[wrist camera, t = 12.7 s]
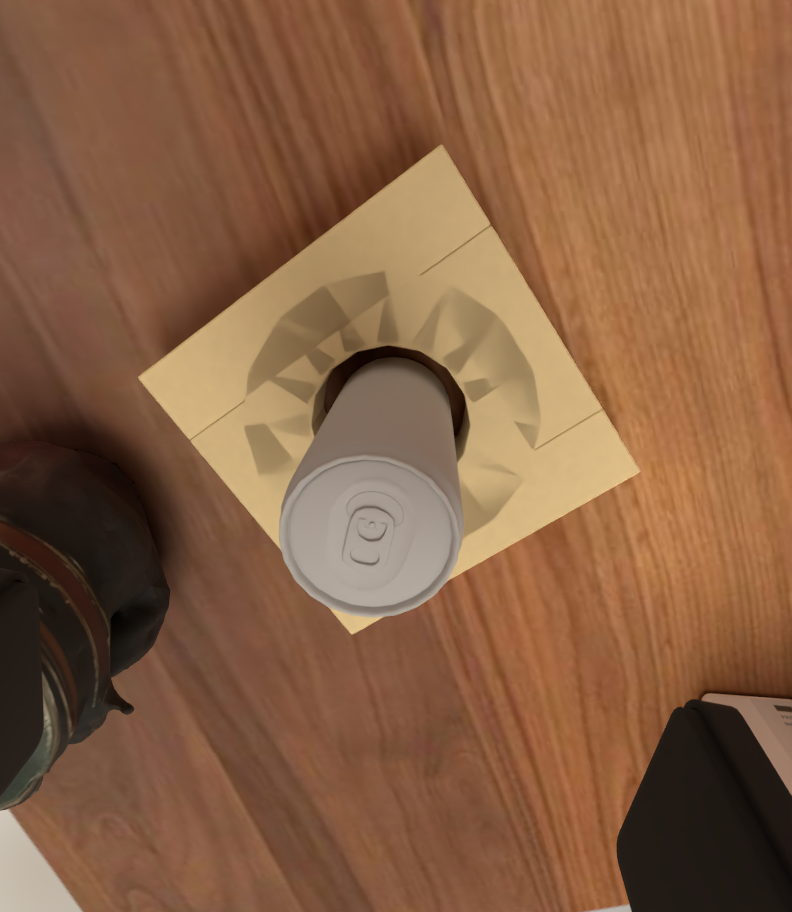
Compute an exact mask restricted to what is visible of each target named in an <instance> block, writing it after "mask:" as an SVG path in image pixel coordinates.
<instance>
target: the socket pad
mask: <svg viewBox="0 0 792 912" xmlns="http://www.w3.org/2000/svg"><path fill="white" fill-rule="evenodd" d="M489 225H490V222H489V220H488V218H487V217H486V215H485V213H484V212H483V210H482V208H481V207H480V205H479V203H478V202H477V200H476V199H475V197H474V195H473V194H472V192H471V190H470V189H469V187H468V185H467V184H466V182H465V180H464V179H463V177H462V175H461V174H460V172H459V171H458V169H457V167H456V166H455V164H454V162H453V161H452V159H451V157H450V156H449V154H448V152H447V151H446V149H445V147H444V146H443V145H439V146H438V147H436V148H435V149H434V150H433V151H431V152H430V153H429V154H427V155H426V156H425V157H423V158H422V159H421V160H419V161H418V162H417V163H416V164H414V165H413V166H412V167H410V168H409V169H408V170H406V171H405V172H404V173H403V174H401V175H400V176H399V177H397V178H396V179H395V180H393V181H392V182H391V183H390V184H388V185H387V186H386V187H384V188H383V189H382V190H380V191H379V192H378V193H377V194H375V195H374V196H373V197H371V198H370V199H369V200H367V201H366V202H365V203H364V204H362V205H361V206H360V207H358V208H357V209H356V210H354V211H353V212H352V213H350V214H349V215H348V216H347V217H345V218H344V219H343V220H341V221H340V222H339V223H337V224H336V225H335V226H334V227H332V228H331V229H330V230H328V231H327V232H326V233H324V234H323V235H322V236H321V237H319V238H318V239H317V240H315V241H314V242H313V243H311V244H310V245H309V246H308V247H306V248H305V249H304V250H302V251H301V252H300V253H298V254H297V255H296V256H295V257H293V258H292V259H291V260H289V261H288V262H287V263H285V264H284V265H283V266H281V267H280V268H279V269H278V270H276V271H275V272H274V273H272V274H271V275H270V276H268V277H267V278H266V279H265V280H263V281H262V282H261V283H259V284H258V285H257V286H255V287H254V288H253V289H252V290H250V291H249V292H248V293H246V294H245V295H244V296H242V297H241V298H240V299H239V300H237V301H236V302H235V303H233V304H232V305H231V306H229V307H228V308H227V309H225V310H224V311H223V312H222V313H220V314H219V315H218V316H216V317H215V318H214V319H212V320H211V321H210V322H209V323H207V324H206V325H205V326H203V327H202V328H201V329H199V330H198V331H197V332H196V333H194V334H193V335H192V336H190V337H189V338H188V339H186V340H185V341H184V342H183V343H181V344H180V345H179V346H177V347H176V348H175V349H173V350H172V351H171V352H170V353H168V354H167V355H166V356H164V357H163V358H162V359H160V360H159V361H158V362H156V363H155V364H154V365H153V366H151V367H150V368H149V369H147V370H146V371H145V372H143V373H142V374H141V375H140V376H139V377H138V378H139V380H140V381H141V382H142V384H143V385H144V386H145V387H146V388H147V390H148V391H149V392H150V393H151V394H152V396H153V397H154V398H155V399H156V400H157V402H158V403H159V404H160V405H161V406H162V408H163V409H164V410H165V411H166V412H167V414H168V415H169V416H170V417H171V418H172V420H173V421H174V422H175V423H176V424H177V426H178V427H179V428H180V429H181V431H182V432H183V433H184V434H185V435H186V437H187V438H188V439H191V440H190V441H191V443H192V444H193V445H194V446H195V448H196V449H197V450H198V451H199V452H200V454H201V455H202V456H203V457H204V458H205V460H206V461H207V462H208V463H209V464H210V466H211V467H212V468H213V469H214V470H215V472H216V473H217V474H218V475H219V476H220V478H221V479H222V480H223V481H224V482H225V484H226V485H227V486H228V487H229V488H230V490H231V491H232V492H233V493H234V495H235V496H236V497H237V498H238V499H239V501H240V502H241V503H242V504H243V505H244V507H245V508H246V509H247V510H248V511H249V513H250V514H251V515H252V516H253V517H254V519H255V520H256V521H257V522H258V523H259V525H260V526H261V527H262V528H263V529H264V531H265V532H266V533H267V534H268V535H269V537H270V538H271V539H272V540H273V541H274V543H275V544H276V545H277V546H278V547H279V549H280V550H281V547H280V543H279V520H280V516H281V505H282V502H283V499H284V496H285V493H286V490H287V487H288V484H289V482H290V480H291V479H292V477H293V475H294V473H295V471H296V470H297V468H298V466H299V464H300V463H301V461H302V459H303V457H304V455H305V454H306V452H307V450H308V448H309V447H310V445H311V443H312V441H313V439H314V438H315V436H316V434H317V432H318V431H319V429H320V427H321V425H322V423H323V422H324V420H325V418H326V416H327V415H326V412H325V408H324V401H325V394H326V387H327V380H328V377H329V376H330V374H331V372H332V371H333V369H334V368H335V367H336V366H338V365H339V364H341V363H342V362H343V361H345V360H346V359H348V358H349V357H351V356H352V355H353V354H355V353H356V352H359V351H364V350H368V349H373V348H378V347H383V346H387V345H390V346H395V347H400V348H406V349H411V350H416V351H421V352H422V353H424V354H425V355H427V356H428V357H430V358H431V359H433V360H434V361H436V362H437V363H439V364H440V365H442V366H443V367H445V368H447V370H448V371H449V373H450V374H451V376H452V377H453V378H454V380H455V381H456V383H457V384H458V386H459V387H460V389H461V390H462V392H463V393H464V397H465V403H466V406H465V411H464V415H463V420H462V424H461V429H460V432H459V433H458V434H457V436H456V437H455V439H454V441H455V449H456V458H457V466H458V475H459V483H460V492H461V500H462V509H463V517H464V530H463V537H462V544H461V548H460V550H459V553H458V560H457V562H456V564H455V566H454V569H453V571H452V573H451V575H450V577H449V579H448V580H450V579H452V578H453V577H455V576H457V575H459V574H461V573H462V572H464V571H466V570H468V569H469V568H471V567H473V566H475V565H476V564H478V563H480V562H482V561H484V560H485V559H487V558H489V557H491V556H492V555H494V554H496V553H498V552H500V551H501V550H503V549H505V548H507V547H508V546H510V545H512V544H514V543H515V542H517V541H519V540H521V539H523V538H524V537H526V536H528V535H530V534H531V533H533V532H535V531H537V530H538V529H540V528H542V527H544V526H546V525H547V524H549V523H551V522H553V521H554V520H556V519H558V518H560V517H561V516H563V515H565V514H567V513H569V512H570V511H572V510H574V509H576V508H577V507H579V506H581V505H583V504H584V503H586V502H588V501H590V500H592V499H593V498H595V497H597V496H599V495H600V494H602V493H604V492H606V491H607V490H609V489H611V488H613V487H615V486H616V485H618V484H620V483H622V482H623V481H625V480H627V479H629V478H631V477H632V476H634V475H636V474H638V473H639V472H640V469H639V467H638V466H637V464H636V462H635V461H634V459H633V457H632V456H631V454H630V452H629V451H628V449H627V448H626V446H625V444H624V443H623V441H622V439H621V438H620V436H619V434H618V433H617V431H616V429H615V428H614V426H613V424H612V423H611V421H610V419H609V418H608V416H607V415H606V413H605V411H604V410H603V409H602V406H601V405H600V403H599V401H598V400H597V398H596V396H595V395H594V393H593V391H592V390H591V388H590V386H589V385H588V383H587V381H586V380H585V378H584V377H583V375H582V373H581V372H580V370H579V368H578V367H577V365H576V363H575V362H574V360H573V358H572V357H571V355H570V353H569V352H568V350H567V348H566V347H565V345H564V344H563V342H562V340H561V339H560V337H559V335H558V334H557V332H556V330H555V329H554V327H553V325H552V324H551V322H550V320H549V319H548V317H547V315H546V314H545V312H544V311H543V309H542V307H541V306H540V304H539V302H538V301H537V299H536V297H535V296H534V294H533V292H532V291H531V289H530V287H529V286H528V284H527V283H526V281H525V279H524V278H523V276H522V274H521V273H520V271H519V269H518V268H517V266H516V264H515V263H514V261H513V259H512V258H511V256H510V254H509V253H508V251H507V250H506V248H505V246H504V245H503V243H502V241H501V240H500V238H499V236H498V235H497V233H496V231H495V230H494V228H493V226H489ZM448 580H447V581H448ZM330 610H331V611H332V612H333V613H334V614H335V616H336V617H337V618H338V619H339V620H340V622H341V623H342V624H343V625H344V626H345V628H346V629H347V630H348V631H349V632H350V634H354V633H356V632H358V631H360V630H361V629H363V628H365V627H367V626H369V625H370V624H372V623H374V622H376V621H377V620H379V619H381V618H383V617H375V618H372V617H363V616H353V615H349V614H346V613H343V612H340V611H337V610H334V609H331V608H330Z"/></svg>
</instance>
